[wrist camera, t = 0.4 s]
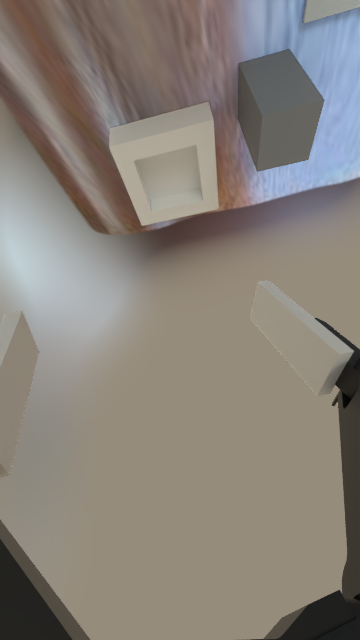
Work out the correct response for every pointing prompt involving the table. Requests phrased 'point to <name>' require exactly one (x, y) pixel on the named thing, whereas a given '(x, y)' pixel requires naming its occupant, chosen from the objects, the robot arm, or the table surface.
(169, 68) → the table surface
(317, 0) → the card
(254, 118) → the charcoal pillar
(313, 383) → the robot arm
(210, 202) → the socket base
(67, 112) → the table surface
